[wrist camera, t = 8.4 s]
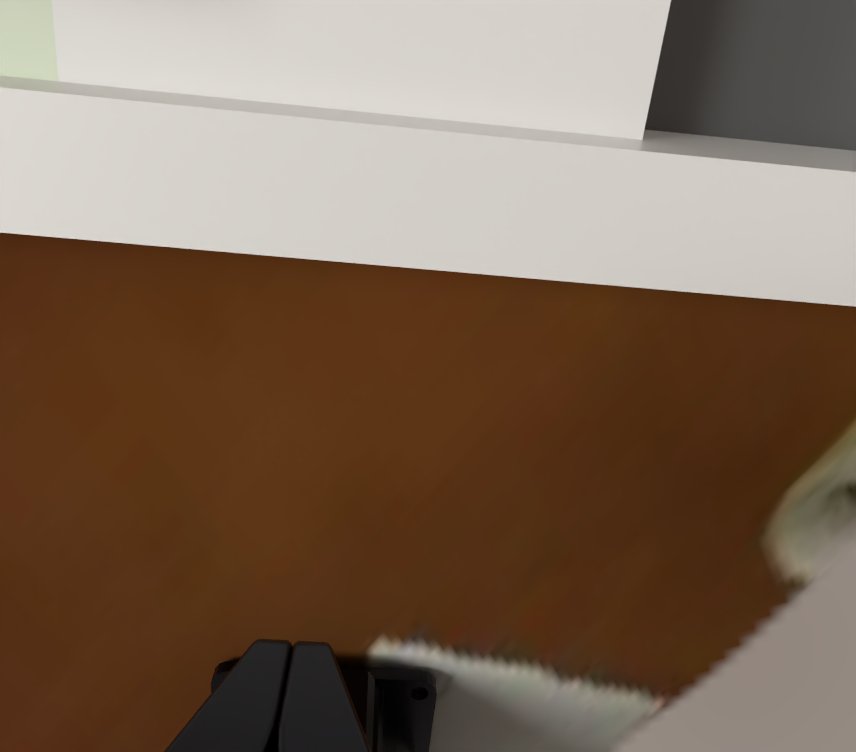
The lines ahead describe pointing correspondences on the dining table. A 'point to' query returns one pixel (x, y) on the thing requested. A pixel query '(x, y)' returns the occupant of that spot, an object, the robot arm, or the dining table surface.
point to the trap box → (447, 135)
